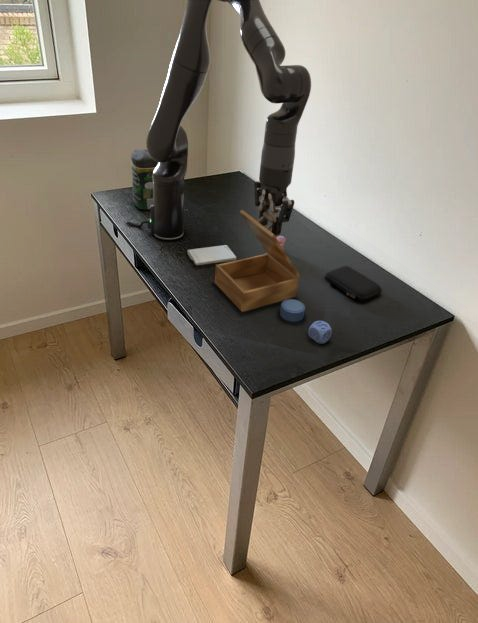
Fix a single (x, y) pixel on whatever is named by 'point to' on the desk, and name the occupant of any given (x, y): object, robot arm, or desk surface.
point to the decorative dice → (320, 331)
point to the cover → (269, 240)
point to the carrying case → (353, 283)
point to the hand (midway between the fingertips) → (269, 229)
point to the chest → (255, 281)
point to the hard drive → (211, 255)
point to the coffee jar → (142, 178)
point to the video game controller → (280, 241)
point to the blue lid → (292, 310)
